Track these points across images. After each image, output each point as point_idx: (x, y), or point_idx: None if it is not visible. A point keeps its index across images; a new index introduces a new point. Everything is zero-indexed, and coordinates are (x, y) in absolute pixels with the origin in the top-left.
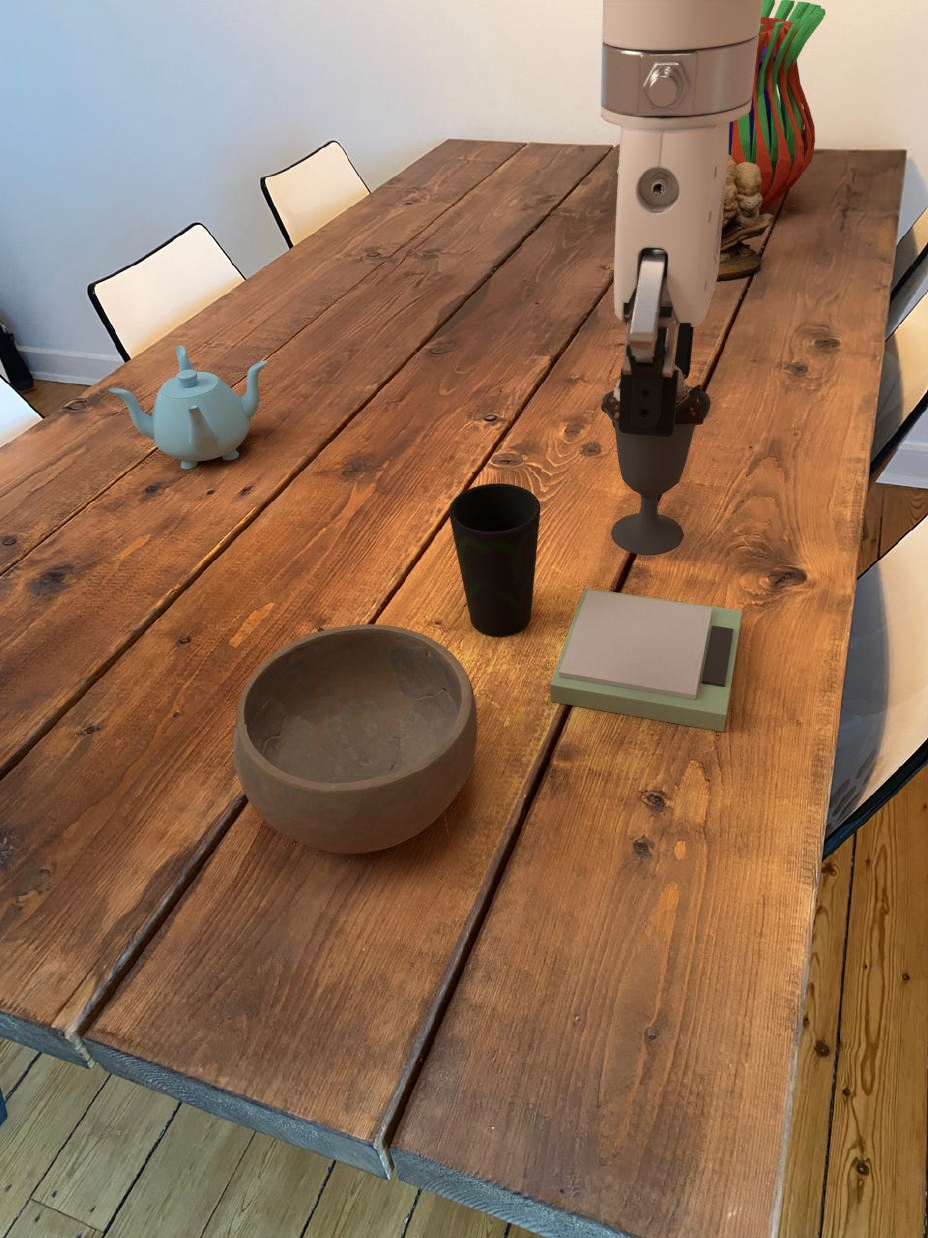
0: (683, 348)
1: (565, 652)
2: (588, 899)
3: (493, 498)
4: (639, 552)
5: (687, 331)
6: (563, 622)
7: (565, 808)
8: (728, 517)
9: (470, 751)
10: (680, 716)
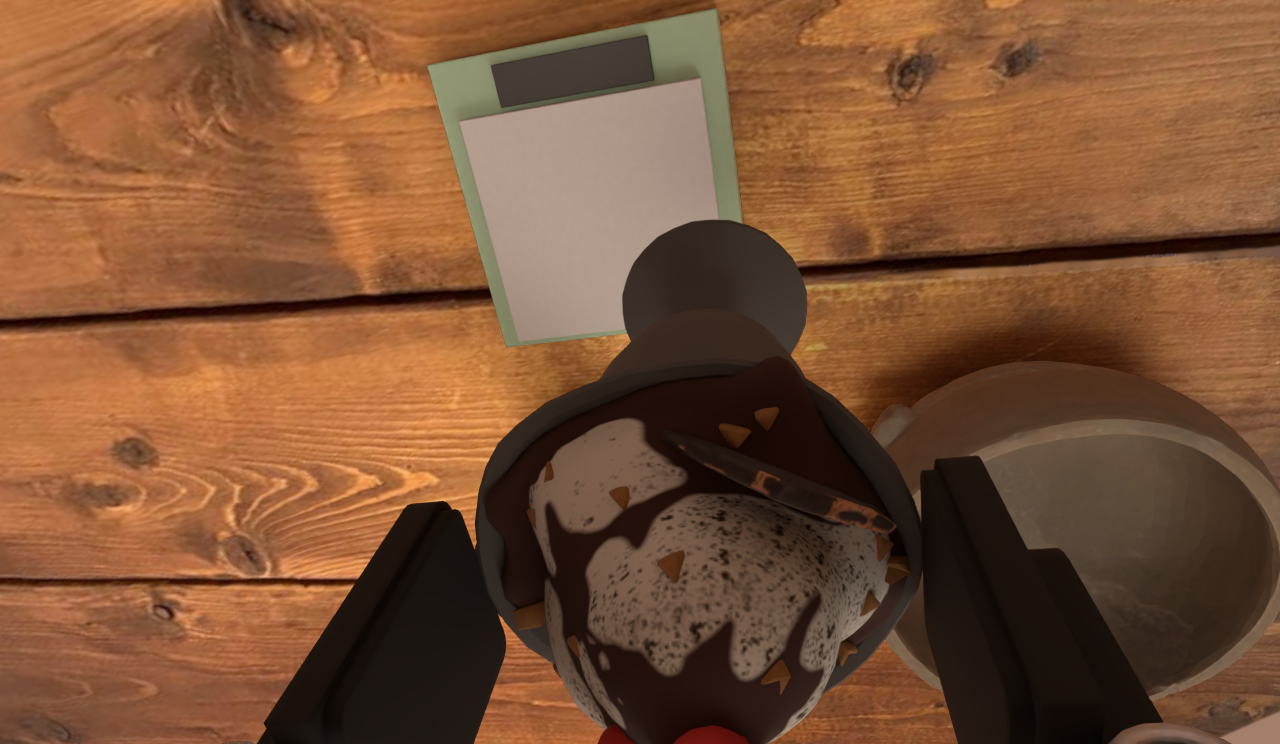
0: (406, 623)
1: None
2: (1139, 106)
3: None
4: (805, 304)
5: (363, 690)
6: (570, 347)
7: (966, 204)
8: (159, 175)
9: (1068, 383)
10: (727, 92)
